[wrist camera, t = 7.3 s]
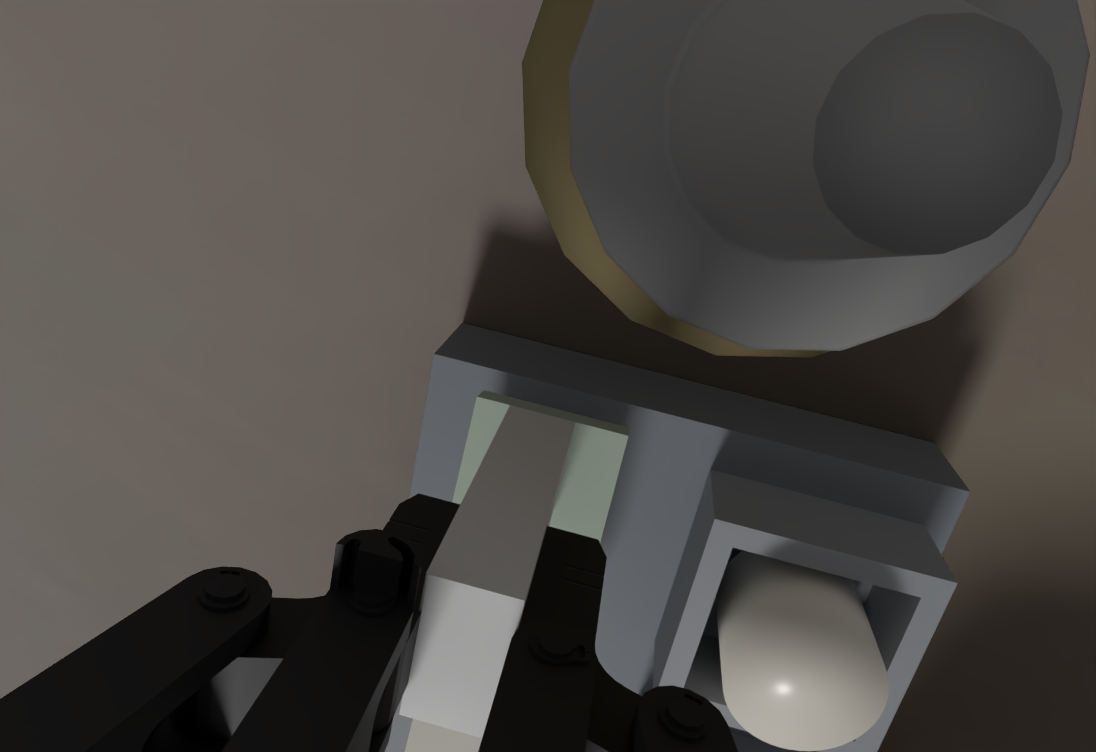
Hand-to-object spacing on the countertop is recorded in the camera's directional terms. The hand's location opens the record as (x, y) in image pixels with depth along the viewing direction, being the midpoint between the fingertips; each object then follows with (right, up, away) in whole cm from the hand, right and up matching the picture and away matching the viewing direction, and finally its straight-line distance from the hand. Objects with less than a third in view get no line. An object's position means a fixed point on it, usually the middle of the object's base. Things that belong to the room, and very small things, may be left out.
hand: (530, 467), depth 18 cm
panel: (+3, -5, +8) cm, 10 cm away
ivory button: (+7, -4, +3) cm, 8 cm away
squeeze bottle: (+5, +9, +3) cm, 11 cm away
